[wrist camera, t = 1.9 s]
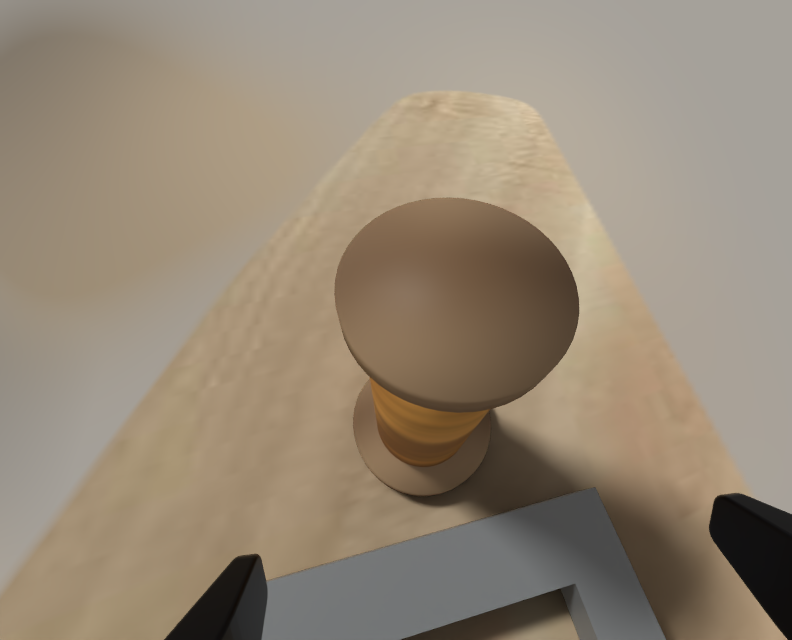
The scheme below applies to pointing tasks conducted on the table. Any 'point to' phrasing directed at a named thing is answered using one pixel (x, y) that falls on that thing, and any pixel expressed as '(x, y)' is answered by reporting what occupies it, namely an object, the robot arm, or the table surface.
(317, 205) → the table surface
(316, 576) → the gray square washer
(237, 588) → the robot arm
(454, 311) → the cable reel
